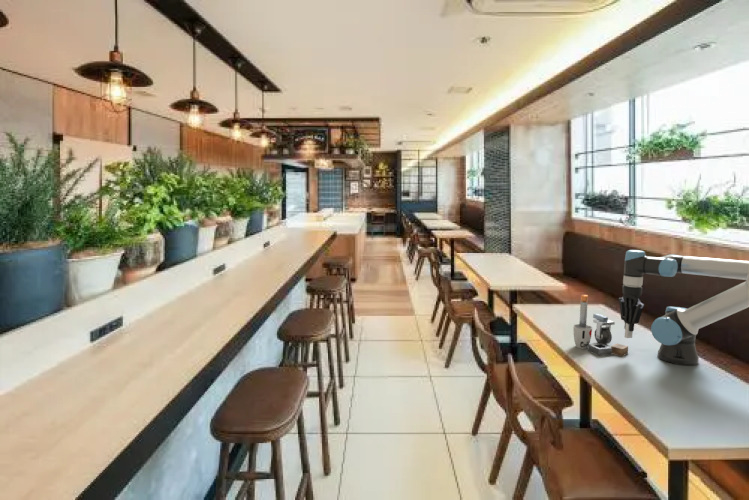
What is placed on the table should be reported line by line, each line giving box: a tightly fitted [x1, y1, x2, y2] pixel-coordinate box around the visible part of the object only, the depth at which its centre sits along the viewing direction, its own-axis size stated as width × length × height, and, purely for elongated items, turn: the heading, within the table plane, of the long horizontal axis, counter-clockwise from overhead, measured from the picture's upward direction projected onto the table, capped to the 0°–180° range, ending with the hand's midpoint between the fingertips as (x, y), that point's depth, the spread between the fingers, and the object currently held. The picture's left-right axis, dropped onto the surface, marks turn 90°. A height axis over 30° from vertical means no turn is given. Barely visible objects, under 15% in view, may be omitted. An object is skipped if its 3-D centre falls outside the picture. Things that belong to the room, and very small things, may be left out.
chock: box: [610, 343, 629, 357], centre depth 215 cm, size 5×6×4 cm
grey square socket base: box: [587, 342, 613, 357], centre depth 216 cm, size 7×7×3 cm
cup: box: [573, 323, 593, 350], centre depth 223 cm, size 8×8×10 cm
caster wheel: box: [592, 313, 616, 345], centre depth 228 cm, size 10×7×13 cm
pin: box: [579, 294, 589, 328], centre depth 221 cm, size 3×3×15 cm
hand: (628, 337), depth 210 cm, fingers closed
